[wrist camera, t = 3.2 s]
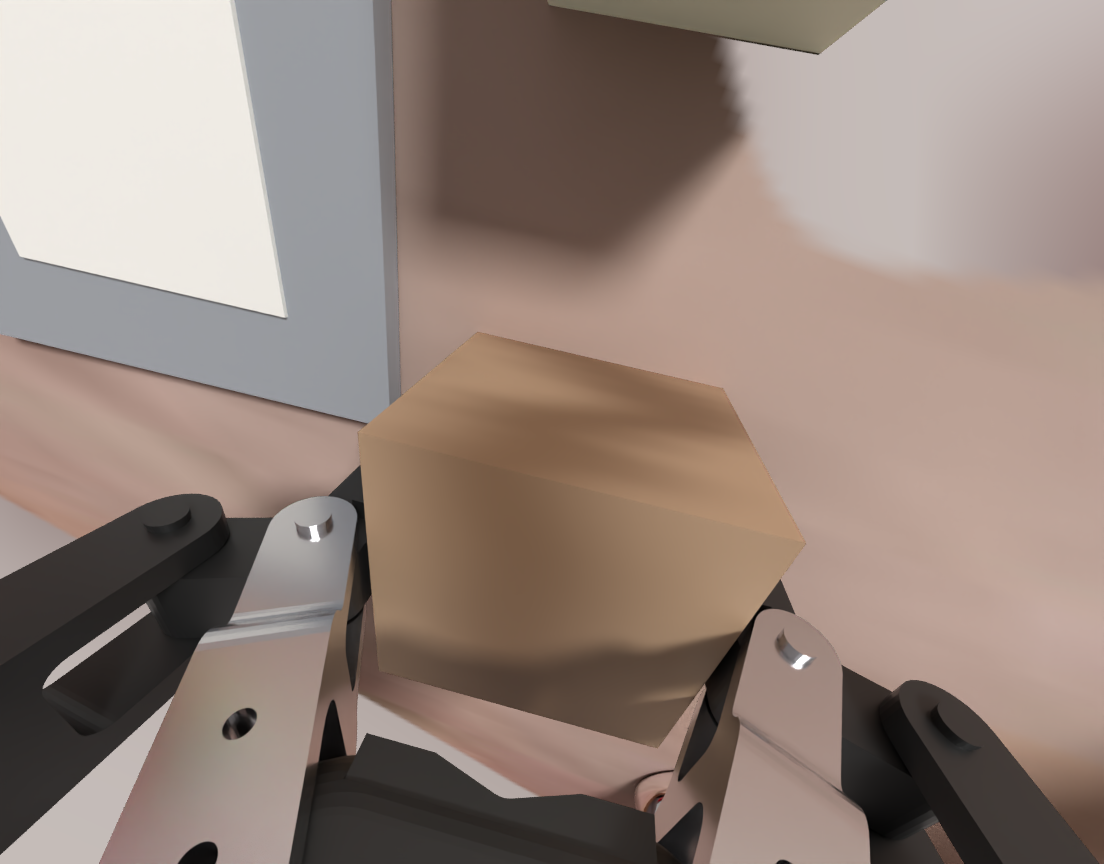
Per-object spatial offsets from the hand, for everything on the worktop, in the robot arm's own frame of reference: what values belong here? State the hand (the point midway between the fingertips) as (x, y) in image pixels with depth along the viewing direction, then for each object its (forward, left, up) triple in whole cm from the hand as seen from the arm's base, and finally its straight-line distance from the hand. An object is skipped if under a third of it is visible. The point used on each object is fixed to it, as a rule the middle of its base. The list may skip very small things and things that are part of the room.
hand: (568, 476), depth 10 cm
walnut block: (0, 0, -1) cm, 1 cm away
